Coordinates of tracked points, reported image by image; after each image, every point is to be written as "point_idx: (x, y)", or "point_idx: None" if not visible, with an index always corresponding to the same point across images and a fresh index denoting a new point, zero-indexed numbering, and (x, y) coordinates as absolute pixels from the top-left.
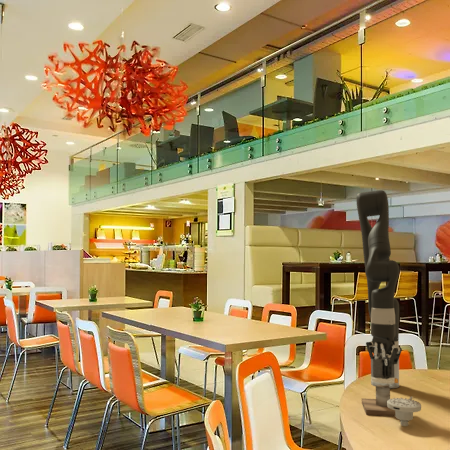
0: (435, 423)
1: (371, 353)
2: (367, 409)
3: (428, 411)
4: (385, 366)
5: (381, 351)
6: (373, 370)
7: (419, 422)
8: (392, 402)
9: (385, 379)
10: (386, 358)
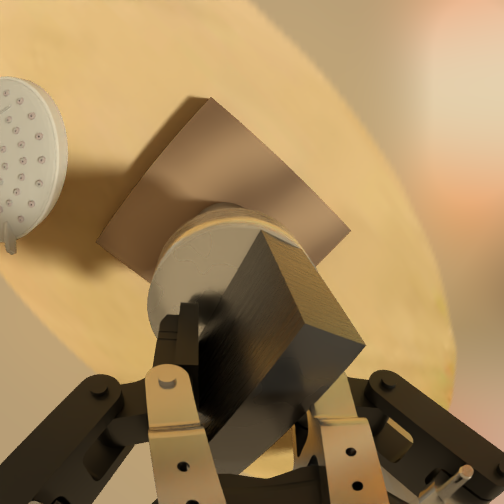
0: (20, 264)
1: (412, 419)
2: (211, 107)
3: (127, 350)
4: (180, 359)
5: (261, 499)
6: (270, 257)
7: (40, 224)
8: (4, 97)
9: (160, 267)
10: (151, 428)
